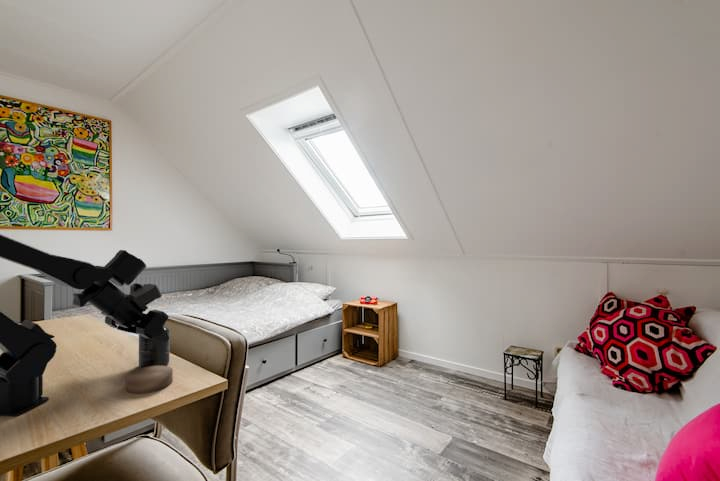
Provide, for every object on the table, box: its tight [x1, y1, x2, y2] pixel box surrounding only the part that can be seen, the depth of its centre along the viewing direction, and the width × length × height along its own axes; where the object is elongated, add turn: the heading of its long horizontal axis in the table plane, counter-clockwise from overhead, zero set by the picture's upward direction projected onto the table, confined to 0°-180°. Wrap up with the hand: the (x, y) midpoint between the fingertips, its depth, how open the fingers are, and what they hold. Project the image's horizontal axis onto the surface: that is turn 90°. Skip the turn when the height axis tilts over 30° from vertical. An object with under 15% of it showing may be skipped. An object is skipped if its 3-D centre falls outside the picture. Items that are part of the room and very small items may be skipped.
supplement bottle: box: [138, 321, 171, 369], centre depth 91 cm, size 7×7×12 cm
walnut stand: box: [124, 365, 174, 394], centre depth 80 cm, size 9×9×2 cm
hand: (159, 337), depth 92 cm, fingers closed on supplement bottle, 7 cm apart
